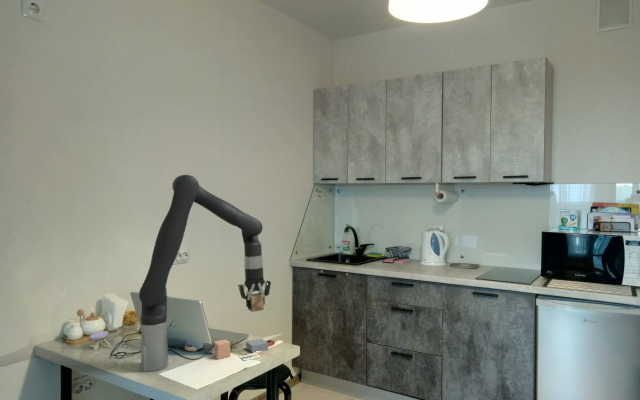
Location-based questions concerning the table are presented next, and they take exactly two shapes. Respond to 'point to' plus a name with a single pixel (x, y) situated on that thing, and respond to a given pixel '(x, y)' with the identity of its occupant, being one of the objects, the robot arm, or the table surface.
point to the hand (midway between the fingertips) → (255, 307)
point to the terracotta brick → (222, 349)
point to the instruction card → (250, 356)
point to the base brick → (257, 345)
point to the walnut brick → (256, 302)
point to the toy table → (99, 338)
